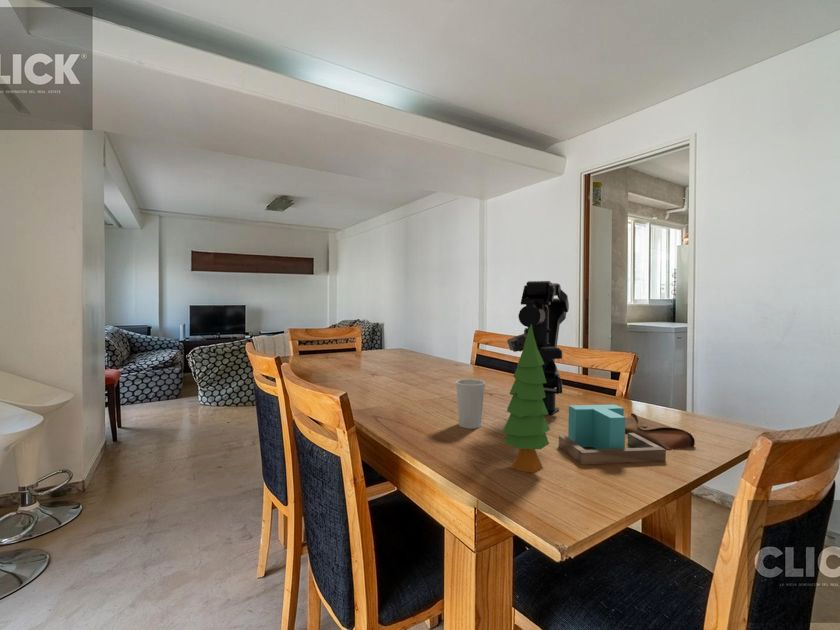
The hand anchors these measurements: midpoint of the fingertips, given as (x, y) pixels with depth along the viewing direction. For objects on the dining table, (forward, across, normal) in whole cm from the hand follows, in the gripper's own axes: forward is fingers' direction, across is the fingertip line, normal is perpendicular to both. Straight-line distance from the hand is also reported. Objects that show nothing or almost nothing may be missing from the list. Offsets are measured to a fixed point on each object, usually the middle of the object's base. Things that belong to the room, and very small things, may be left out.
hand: (537, 379), depth 113 cm
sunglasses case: (+13, +15, +24) cm, 31 cm away
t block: (+12, +22, +7) cm, 26 cm away
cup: (+12, +1, -20) cm, 23 cm away
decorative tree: (+12, +29, -15) cm, 35 cm away
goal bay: (+12, +24, +7) cm, 28 cm away
